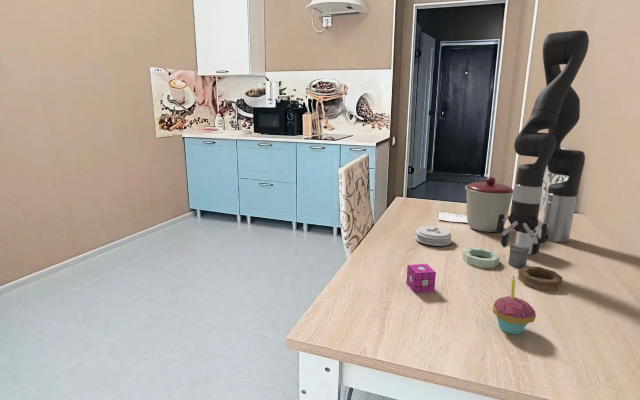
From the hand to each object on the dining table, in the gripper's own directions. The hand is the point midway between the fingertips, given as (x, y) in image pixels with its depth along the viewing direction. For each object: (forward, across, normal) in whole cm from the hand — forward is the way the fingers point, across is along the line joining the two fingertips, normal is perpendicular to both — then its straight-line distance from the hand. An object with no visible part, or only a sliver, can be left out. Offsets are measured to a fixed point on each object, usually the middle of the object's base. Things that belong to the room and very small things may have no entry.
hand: (518, 250), depth 120 cm
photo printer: (+5, +2, -14) cm, 15 cm away
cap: (+5, 0, 0) cm, 5 cm away
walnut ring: (+5, -9, +8) cm, 13 cm away
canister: (+5, +23, -28) cm, 37 cm away
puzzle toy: (+6, +12, +36) cm, 38 cm away
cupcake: (+6, -13, +38) cm, 40 cm away
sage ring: (+5, +9, +6) cm, 12 cm away
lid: (+5, +29, 0) cm, 30 cm away
